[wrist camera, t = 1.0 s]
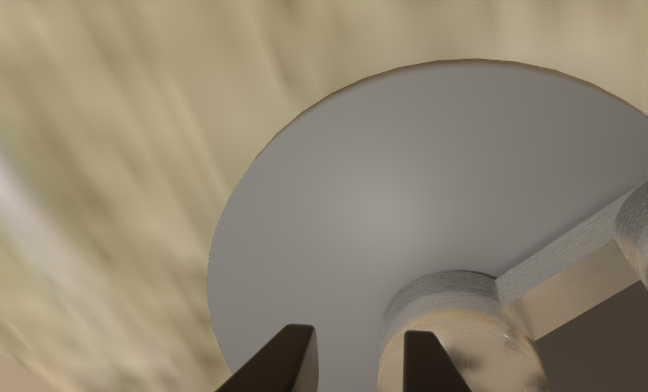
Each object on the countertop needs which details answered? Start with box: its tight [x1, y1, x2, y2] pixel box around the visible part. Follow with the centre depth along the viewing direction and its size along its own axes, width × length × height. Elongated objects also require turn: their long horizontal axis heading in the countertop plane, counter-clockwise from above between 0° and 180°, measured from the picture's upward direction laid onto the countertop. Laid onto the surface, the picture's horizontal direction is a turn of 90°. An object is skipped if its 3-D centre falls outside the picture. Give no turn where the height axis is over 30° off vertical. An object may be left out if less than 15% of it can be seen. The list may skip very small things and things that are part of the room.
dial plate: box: [207, 59, 648, 392], centre depth 20 cm, size 18×18×2 cm
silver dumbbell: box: [377, 182, 648, 392], centre depth 15 cm, size 12×5×5 cm, turn 136°
